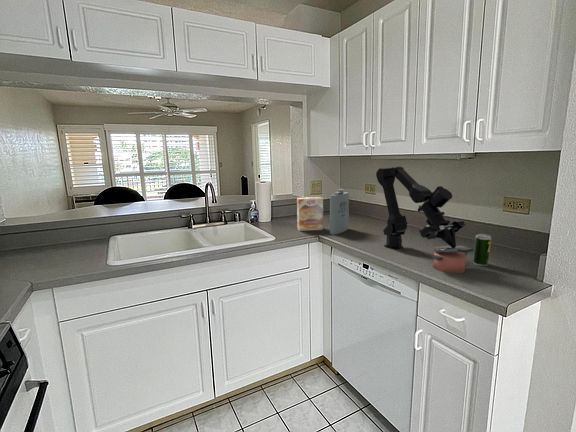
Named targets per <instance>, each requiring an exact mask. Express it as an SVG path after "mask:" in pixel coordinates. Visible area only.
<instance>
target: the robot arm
mask: <svg viewBox="0 0 576 432" xmlns="http://www.w3.org/2000/svg"><path fill="white" fill-rule="evenodd" d="M375 176H376V179H377V180H376V181H377V182H378V183H379V185H380V186H381V187H382V189H383V194H384V198H385V202H386V207H387V212H388V218H387V222H386V224H387V225H386V227H385V228H384V229H383V230H382V231H383V235H384V236H386V242H385V243H386V244H384V247H386V248H389V249H392V250H397V249H401V248H403V247H404V246H403V245H402V242H403V238H402V236H403V235H405V234H406V231H407V228H408V224H409V223H408V222H407V217H406V215H402V214H401V212H400V208H399V204H398V198H397V195H396V190H395V185H394V183H395V181H396V179H397V180H398V181H399V182H400V184H401V185H402V186H403V187H404V188H405V189H406V190H407V191H408V195H409V198H410V199H411V200H412V201H413V203H414V204H419V205H418V208H417V212H418V213H421V212H422V213H423V214H424V216H425V217H426V225H425V226H424V227H422V228H421V227H420V228H419V230H418V232H419V234H420V236H421V237H422V239H425V238H426V239H427V240H431V239H433V240H434V239H436V238H437V239H441V240H442V241H444V242H445V243H446V244H447V246H451V247H452V248H455V247H456V246H457V243H456V241H457V239H456V234H457V233H458V232H459V231H460V230H463V228H464V227H465V226H467V224H466V223H465V221H464V220H454V221H453V222H452V223H451V221H450V219H448V220H447V219H446V218H445V216H444V215H446V213H445V212H444V211H441V210H440V209H439V208H443V207H444V206H445V205H446V204H448V202H449V201H451V200H452V199H453V193H452V192H451V191H450V190H449V189H447V188H444V187H443V186H442V185H440V186H437V187H436V188H435V190H434V191H433V192H432V191H431V189H429V188H427V187H426V186H424V185H422V184H419V182H417V181H416V180H415V179H414V178H413V177H412V176H411V175H410V174H409V173H408V172H407V171H406V170H405V168H404V167H402V166H392V167H383V168H381V167H380V168H378V169H377V171H376V173H375ZM421 203H422V204H421ZM420 204H421V205H420Z"/></svg>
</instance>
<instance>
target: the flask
mask: <svg viewBox="0 0 576 432" xmlns="http://www.w3.org/2000/svg"><path fill="white" fill-rule="evenodd" d="M349 203H350V192H349V191H348V192H347V191H345V189H342V188H340V189H339V188H338V189H337V191H335V192H333V194H330V195H329V235H338V234H342V233H344V232H347V231H348V230H349V211H350V207H349V206H350V205H349Z"/></svg>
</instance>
